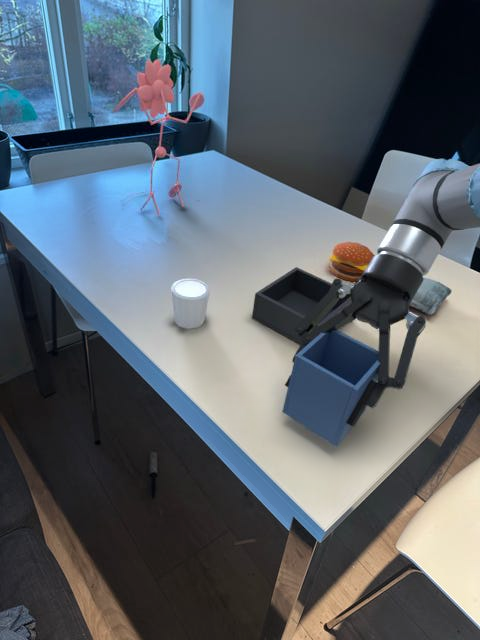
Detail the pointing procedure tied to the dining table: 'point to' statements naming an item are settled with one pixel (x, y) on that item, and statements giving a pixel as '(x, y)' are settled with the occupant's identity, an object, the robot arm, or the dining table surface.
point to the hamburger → (350, 260)
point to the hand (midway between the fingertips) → (318, 405)
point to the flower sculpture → (159, 108)
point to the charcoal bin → (293, 302)
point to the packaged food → (430, 296)
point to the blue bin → (330, 383)
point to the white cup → (190, 302)
